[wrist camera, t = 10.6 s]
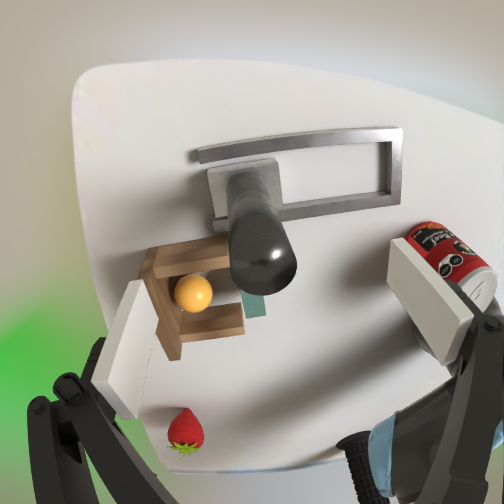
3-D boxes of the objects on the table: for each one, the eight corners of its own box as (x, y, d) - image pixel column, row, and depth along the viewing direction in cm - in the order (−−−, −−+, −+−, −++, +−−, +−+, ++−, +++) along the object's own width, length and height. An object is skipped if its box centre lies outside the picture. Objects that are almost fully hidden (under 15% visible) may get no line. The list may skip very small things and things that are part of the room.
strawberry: (173, 418, 48) (170, 466, 39) (166, 397, 44) (161, 451, 35) (205, 419, 48) (206, 468, 40) (202, 398, 45) (202, 452, 36)
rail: (396, 126, 26) (402, 128, 25) (394, 200, 30) (400, 204, 29) (198, 148, 26) (197, 150, 25) (214, 227, 30) (214, 233, 29)
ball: (181, 265, 32) (214, 267, 31) (190, 294, 34) (221, 297, 33) (162, 288, 29) (197, 292, 28) (173, 317, 31) (207, 323, 30)
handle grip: (371, 426, 59) (332, 441, 60) (402, 520, 36) (356, 536, 37) (375, 437, 64) (340, 451, 65) (403, 521, 41) (362, 535, 42)
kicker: (274, 157, 27) (320, 224, 15) (287, 283, 34) (319, 387, 22) (208, 168, 27) (196, 245, 14) (234, 292, 34) (243, 401, 22)
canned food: (453, 223, 32) (508, 271, 23) (430, 276, 36) (474, 330, 27) (410, 214, 31) (468, 267, 22) (387, 273, 35) (430, 335, 26)
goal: (226, 234, 30) (228, 271, 25) (242, 309, 36) (246, 351, 30) (148, 248, 30) (134, 286, 25) (175, 319, 35) (169, 361, 30)
